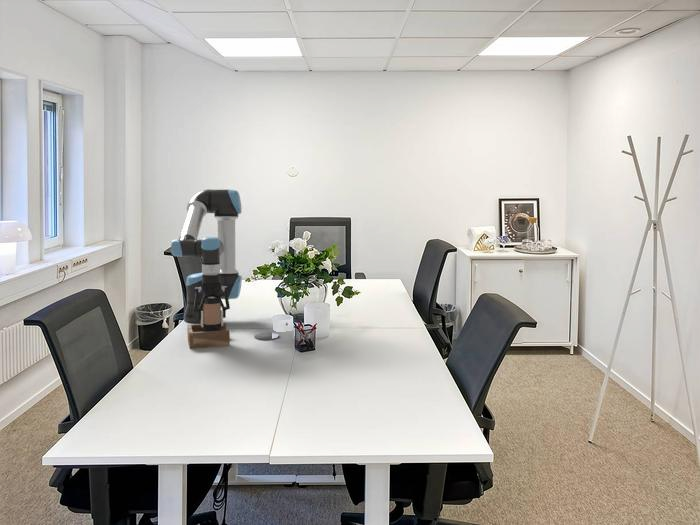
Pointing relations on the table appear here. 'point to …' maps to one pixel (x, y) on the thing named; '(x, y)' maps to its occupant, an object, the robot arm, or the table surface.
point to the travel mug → (211, 313)
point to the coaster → (263, 336)
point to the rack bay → (207, 337)
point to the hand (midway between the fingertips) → (212, 325)
